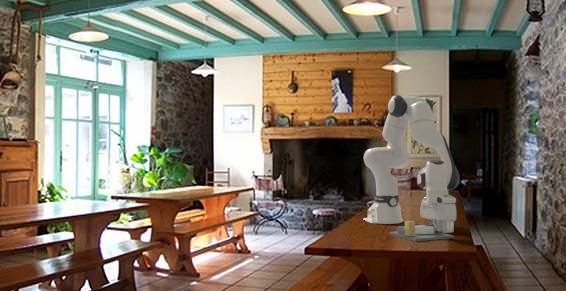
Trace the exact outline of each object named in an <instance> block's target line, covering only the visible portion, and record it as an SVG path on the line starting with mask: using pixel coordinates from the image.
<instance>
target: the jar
mask: <svg viewBox="0 0 566 291" xmlns="http://www.w3.org/2000/svg"><path fill="white" fill-rule="evenodd" d="M454 222H455V221H453V222H448V221H443V224H442V226H443V233H444V234H451V233H454V226H455V225H454V224H455V223H454ZM432 224H433V223H432ZM433 225H434V224H433Z"/></svg>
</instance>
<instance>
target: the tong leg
mask: <svg viewBox="0 0 566 291" xmlns="http://www.w3.org/2000/svg"><path fill="white" fill-rule="evenodd" d="M415 234H443V226H441V231H437V230H435V226H417V225H415Z"/></svg>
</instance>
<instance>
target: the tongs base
mask: <svg viewBox="0 0 566 291" xmlns="http://www.w3.org/2000/svg"><path fill="white" fill-rule="evenodd" d="M416 226H434V225H433V223H428V224H427V223H425V224H418V225H416ZM397 231H398V234H401V235H405V225H404V226H402V225H398V226H397ZM405 236H406V235H405Z"/></svg>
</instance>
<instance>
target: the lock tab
mask: <svg viewBox="0 0 566 291" xmlns="http://www.w3.org/2000/svg"><path fill="white" fill-rule="evenodd" d="M404 226H405V235H406V236H415V226H416V222H415V220H414V221H413V220H404Z"/></svg>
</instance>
